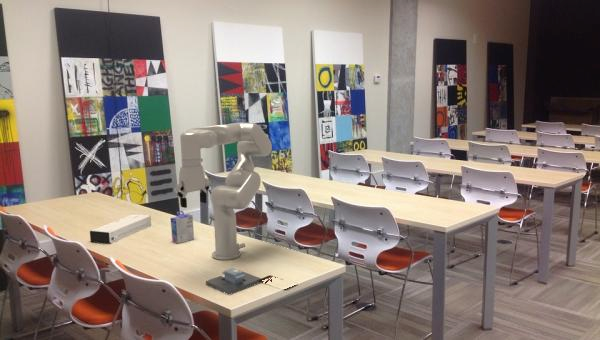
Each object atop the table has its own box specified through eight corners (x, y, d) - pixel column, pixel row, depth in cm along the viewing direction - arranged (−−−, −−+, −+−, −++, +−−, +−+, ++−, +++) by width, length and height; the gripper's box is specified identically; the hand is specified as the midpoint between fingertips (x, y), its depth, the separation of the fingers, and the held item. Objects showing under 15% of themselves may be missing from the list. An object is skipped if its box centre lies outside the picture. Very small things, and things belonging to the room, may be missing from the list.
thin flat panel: (269, 275, 206) (298, 283, 197) (269, 276, 206) (298, 285, 197) (256, 280, 201) (285, 290, 191) (256, 282, 201) (285, 291, 191)
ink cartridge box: (188, 237, 260) (186, 209, 257) (194, 239, 256) (193, 210, 253) (171, 241, 252) (169, 212, 250) (177, 243, 249) (176, 214, 246)
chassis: (238, 273, 209) (238, 269, 209) (261, 282, 200) (261, 278, 199) (205, 284, 198) (205, 281, 197) (229, 294, 188) (228, 290, 188)
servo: (230, 279, 203) (230, 265, 202) (245, 285, 197) (245, 271, 196) (222, 282, 200) (222, 268, 199) (237, 288, 194) (236, 274, 193)
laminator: (133, 224, 285) (133, 213, 284) (152, 226, 281) (152, 215, 280) (90, 243, 253) (89, 230, 252) (111, 245, 249) (110, 232, 248)
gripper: (202, 159, 214) (205, 199, 217) (167, 165, 202) (170, 207, 205) (214, 161, 209) (216, 202, 212) (179, 167, 197) (181, 210, 200)
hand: (193, 204), depth 209 cm, fingers open, 9 cm apart
